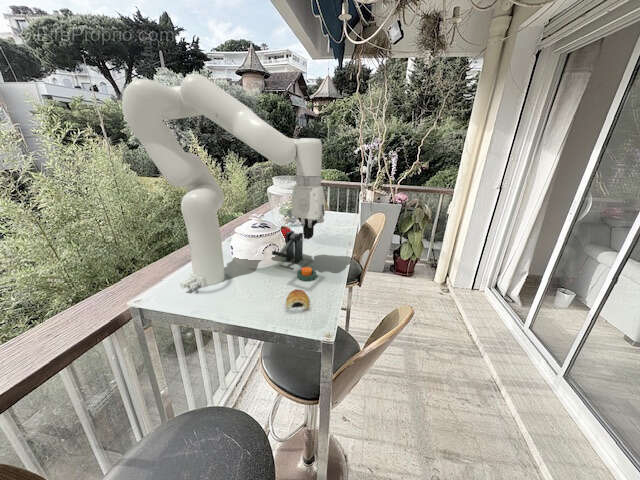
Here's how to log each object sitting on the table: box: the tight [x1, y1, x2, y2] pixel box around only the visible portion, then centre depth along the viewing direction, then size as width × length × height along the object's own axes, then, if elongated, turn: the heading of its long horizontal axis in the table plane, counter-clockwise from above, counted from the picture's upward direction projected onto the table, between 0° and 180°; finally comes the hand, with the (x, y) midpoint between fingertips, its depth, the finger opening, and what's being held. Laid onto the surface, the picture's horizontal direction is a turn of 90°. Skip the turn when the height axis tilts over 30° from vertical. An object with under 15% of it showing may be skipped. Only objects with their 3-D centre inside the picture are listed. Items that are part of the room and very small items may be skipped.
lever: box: [271, 232, 298, 259], centre depth 98 cm, size 12×6×2 cm, turn 152°
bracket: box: [285, 230, 304, 265], centre depth 103 cm, size 12×9×13 cm
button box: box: [296, 268, 317, 283], centre depth 92 cm, size 10×8×3 cm
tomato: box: [280, 225, 292, 242], centre depth 126 cm, size 9×9×8 cm
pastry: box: [286, 288, 310, 311], centre depth 79 cm, size 9×7×4 cm
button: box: [301, 266, 313, 276], centre depth 92 cm, size 4×4×2 cm
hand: (308, 237), depth 87 cm, fingers closed
